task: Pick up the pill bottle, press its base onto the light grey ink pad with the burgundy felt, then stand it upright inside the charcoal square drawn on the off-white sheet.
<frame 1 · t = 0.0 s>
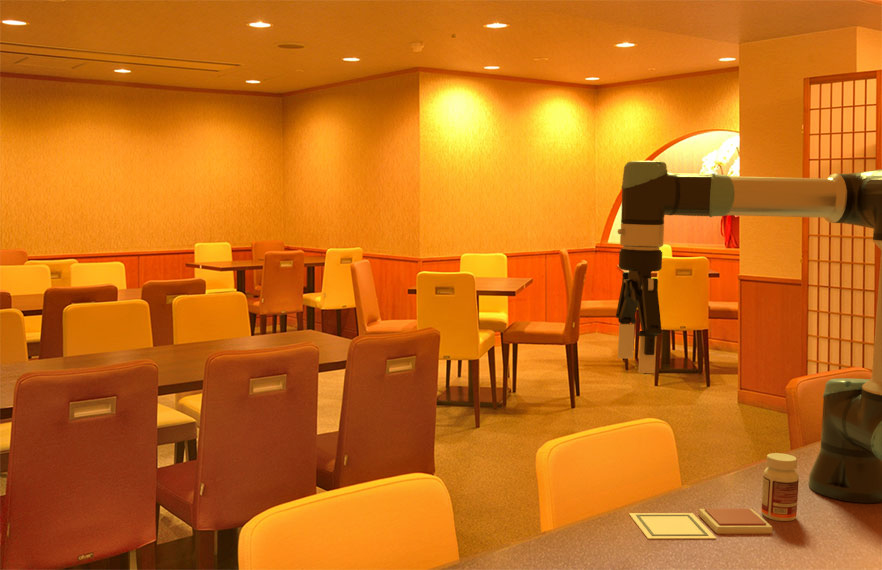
hand: (635, 365, 163), 28 cm above the table, tool pointing down, fingers open, 13 cm apart
paper sheet: (671, 526, 161), on the table
ink pad: (734, 524, 163), on the table
pill bottle: (778, 517, 167), on the table
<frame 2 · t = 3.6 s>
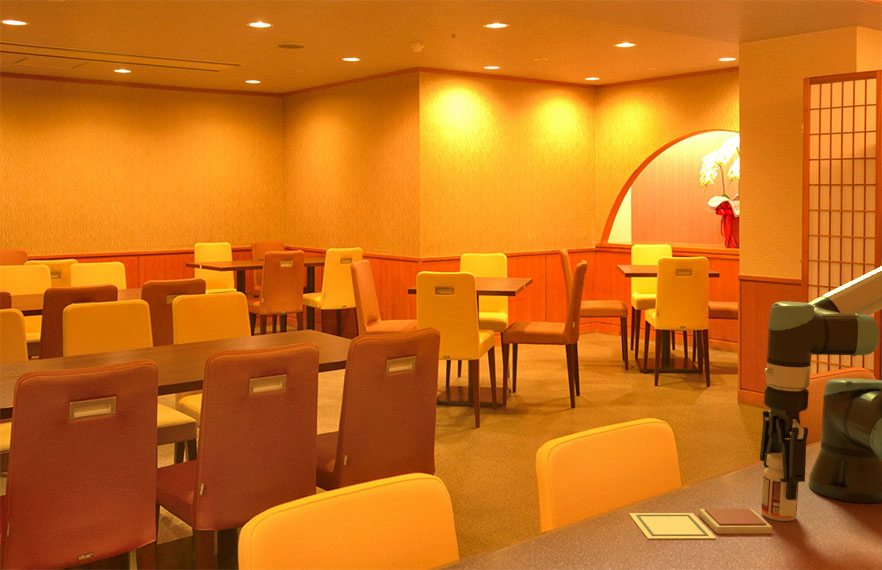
hand: (778, 508, 167), 1 cm above the table, tool pointing down, fingers closed on pill bottle, 6 cm apart
pill bottle: (778, 517, 167), on the table, touching gripper
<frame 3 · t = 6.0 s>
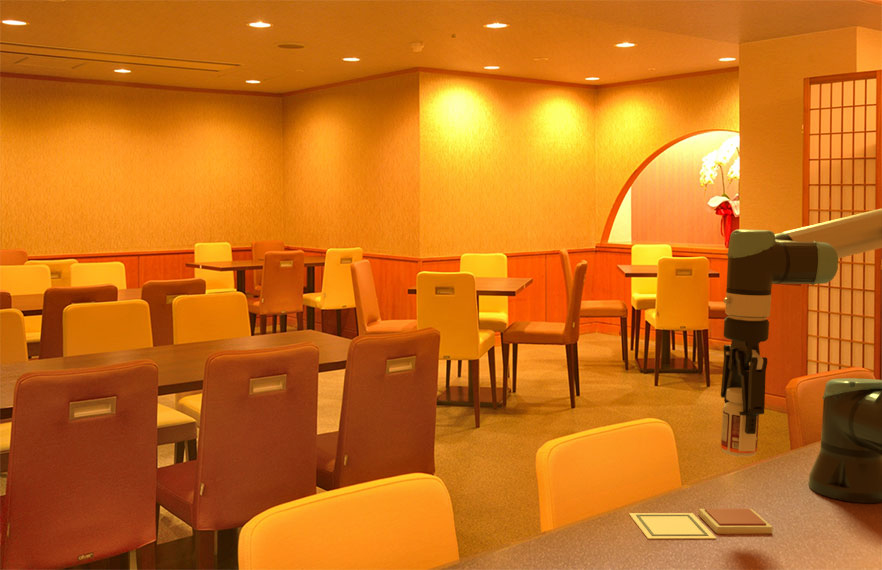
hand: (739, 444, 161), 15 cm above the table, tool pointing down, fingers closed on pill bottle, 6 cm apart
pill bottle: (738, 453, 161), point 13 cm above the table, touching gripper
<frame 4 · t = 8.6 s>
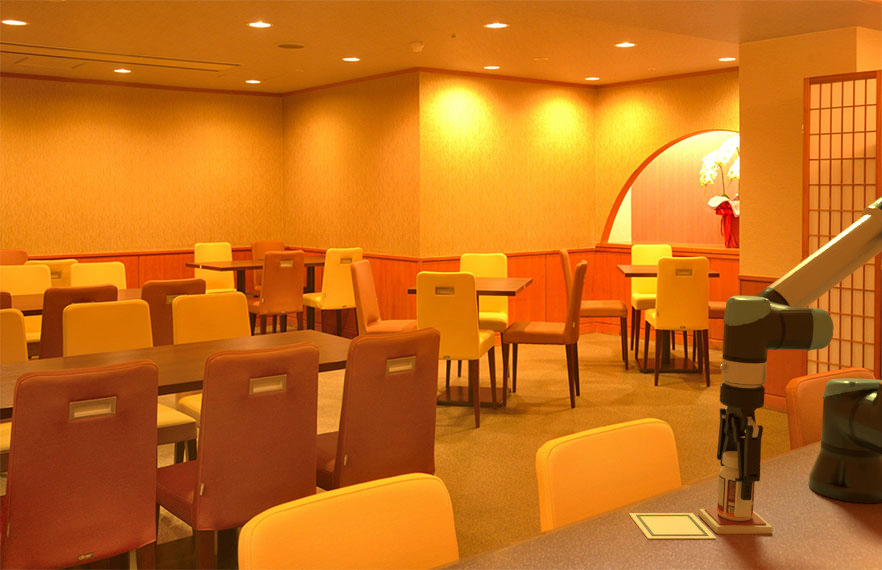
hand: (734, 508, 162), 3 cm above the table, tool pointing down, fingers closed on pill bottle, 6 cm apart
pill bottle: (734, 517, 163), point 1 cm above the table, touching gripper, ink pad
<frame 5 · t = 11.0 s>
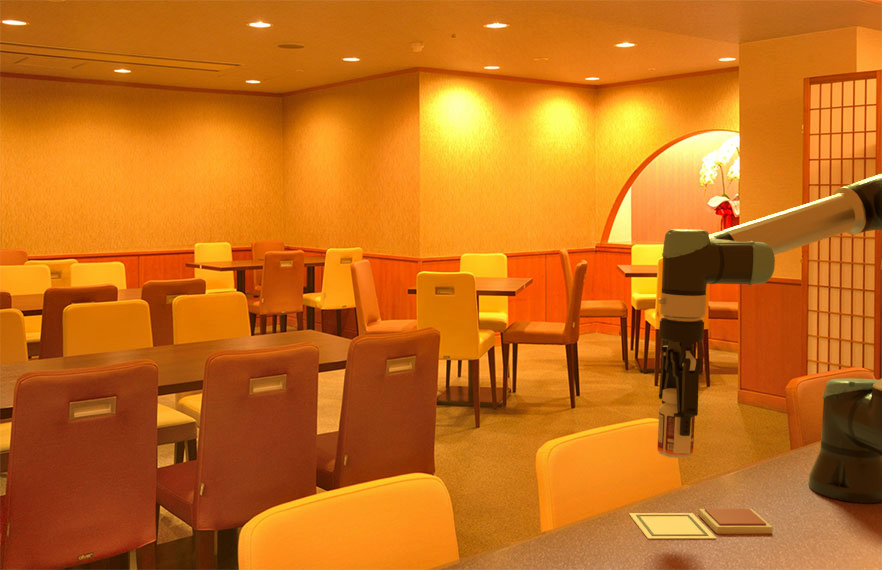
hand: (675, 446, 159), 15 cm above the table, tool pointing down, fingers closed on pill bottle, 6 cm apart
pill bottle: (674, 455, 160), point 13 cm above the table, touching gripper
when the fingers open (3 cm above the table, at t = 13.4 s): pill bottle drops 1 cm, resting on paper sheet.
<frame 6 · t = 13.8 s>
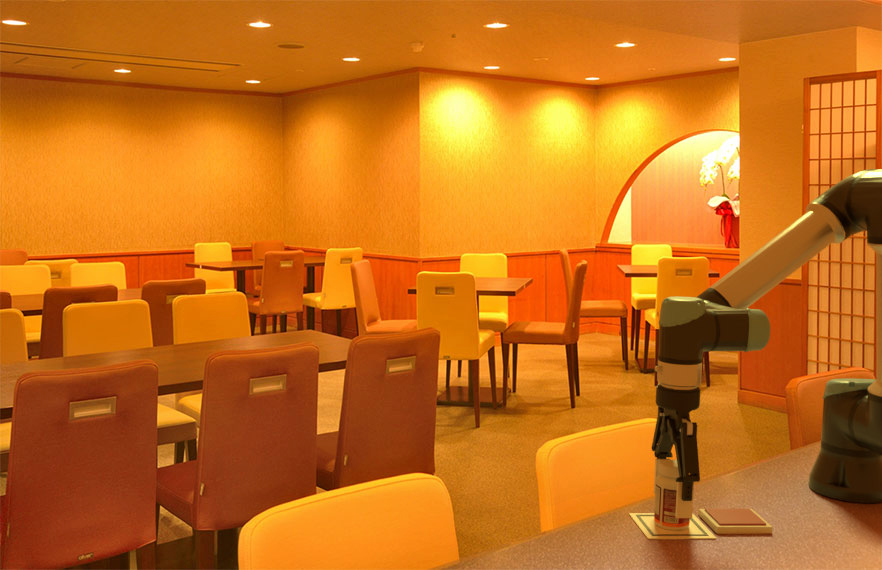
hand: (672, 505, 160), 4 cm above the table, tool pointing down, fingers open, 11 cm apart
pill bottle: (671, 526, 161), resting on paper sheet
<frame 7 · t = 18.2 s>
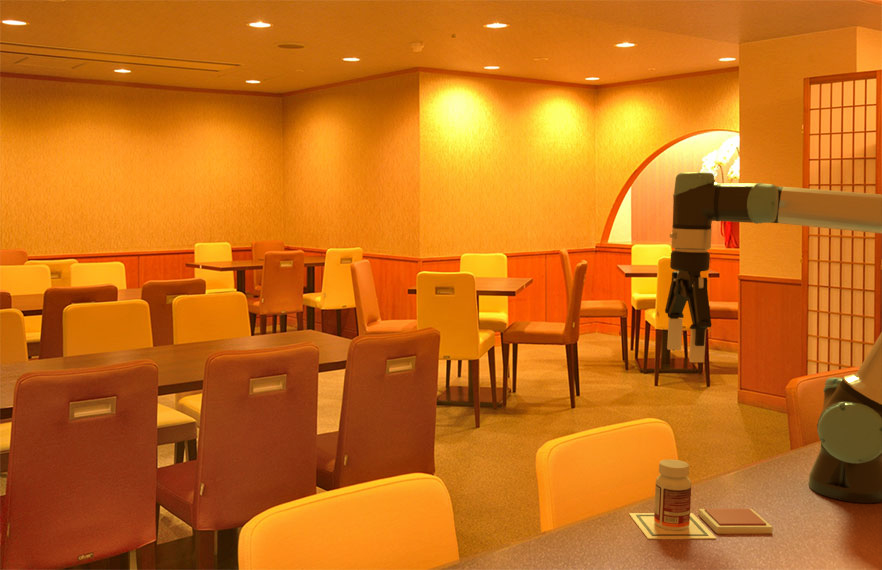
hand: (684, 355, 182), 27 cm above the table, tool pointing down, fingers open, 13 cm apart
nothing on the table moved.
at the end: pill bottle 0.0 cm off-centre on the paper sheet, point 0.0 cm above the paper sheet's base; pill bottle tilted 0°; the gripper is holding nothing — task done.
